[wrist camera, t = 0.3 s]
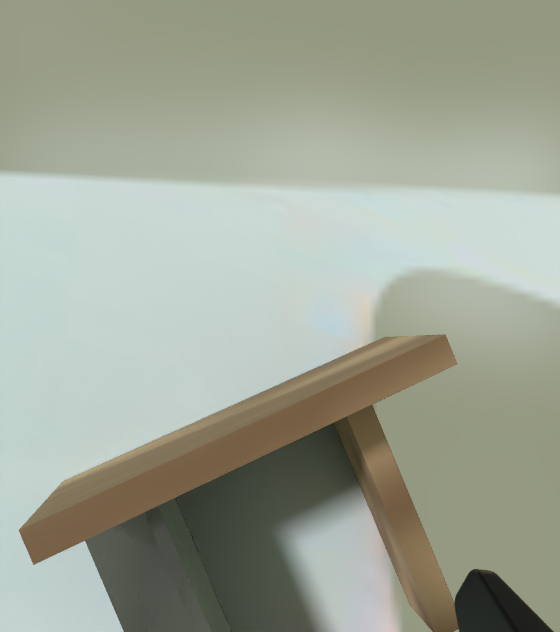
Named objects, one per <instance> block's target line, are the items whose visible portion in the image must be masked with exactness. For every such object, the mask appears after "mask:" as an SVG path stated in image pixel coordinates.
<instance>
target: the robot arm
mask: <svg viewBox="0 0 560 632" xmlns="http://www.w3.org/2000/svg"><path fill="white" fill-rule="evenodd" d="M455 613H456V618H457V623H458V628H459V632H553V631H552V630H551V629H550V628H549V627H548V626H547V625H546V624H545V623H544V622H543V620H541V618H540V617H539V616H538V615H537V614H535V613H534V611H533V610H532V609H531V608H530V607H529V606H528V605H527V604H526V603H525V602H524V601H523V600H522V599H521V598H520V597H519V596H518V595H517V594H516V593H515V592H514V591H513V590H512V589H511V588H510V587H509V586H508V585H507V584H506V583H505V582H504V581H503V580H502V579H501V578H500V577H499V576H498V575H497V574H496V573H494V572H492V571H488V570H479V569H474V570H472V571H470V572H469V574H468V575H467V577H466V579H465V581H464V582H463V584H462V586H461V587H460V589H459V591H458V593H457V595H456V598H455Z"/></svg>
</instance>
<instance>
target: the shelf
mask: <svg viewBox="0 0 560 632" xmlns="http://www.w3.org/2000/svg"><path fill="white" fill-rule="evenodd" d="M456 364H457V362H456V359H455V357H454V355H453V352H452V350H451V347H450V345H449V342H448V340H447V337H446V335H424V336H402V337H401V336H400V337H384V338H382V339H380V340H377V341H375V342H373V343H371V344H368V345H366V346H364V347H362V348H360V349H357V350H355V351H353V352H351V353H348V354H346V355H344V356H342V357H339V358H337V359H335V360H333V361H331V362H328V363H326V364H324V365H322V366H319V367H317V368H315V369H313V370H310V371H308V372H306V373H304V374H302V375H299V376H297V377H295V378H293V379H290V380H288V381H286V382H284V383H281V384H279V385H277V386H275V387H273V388H270V389H268V390H266V391H264V392H261V393H259V394H257V395H255V396H252V397H250V398H248V399H246V400H244V401H241V402H239V403H237V404H235V405H232V406H230V407H228V408H226V409H223V410H221V411H219V412H217V413H215V414H212V415H210V416H208V417H206V418H203V419H201V420H199V421H197V422H194V423H192V424H190V425H188V426H186V427H183V428H181V429H179V430H177V431H174V432H172V433H170V434H168V435H165V436H163V437H161V438H159V439H157V440H154V441H152V442H150V443H148V444H145V445H143V446H141V447H139V448H136V449H134V450H132V451H130V452H128V453H125V454H123V455H121V456H119V457H116V458H114V459H112V460H110V461H107V462H105V463H103V464H101V465H99V466H96V467H94V468H92V469H90V470H87V471H85V472H83V473H81V474H78V475H76V476H74V477H72V478H69V479H67V480H65V481H63V482H62V483H61V484H60V485H59V486H58V487H57V489H56V490H55V491H54V492H53V493H52V494H51V495H50V496H49V497H48V499H47V500H46V501H45V502H44V503H43V504H42V505H41V506H40V507H39V508H38V510H37V511H36V512H35V513H34V514H33V515H32V516H31V517H30V518H29V519H28V521H27V522H26V523H25V524H24V525H23V526H22V527H21V528H20V529H19V532H20V534H21V537H22V539H23V541H24V544H25V546H26V548H27V551H28V553H29V555H30V558H31V560H32V562H33V565H34V564H36V563H38V562H41V561H43V560H45V559H47V558H49V557H51V556H53V555H55V554H57V553H60V552H62V551H64V550H66V549H68V548H70V547H72V546H74V545H76V544H79V543H81V542H83V541H85V542H86V544H87V546H88V549H89V551H90V553H91V556H92V558H93V560H94V563H95V565H96V567H97V570H98V572H99V574H100V577H101V579H102V581H103V584H104V586H105V588H106V591H107V593H108V595H109V598H110V600H111V602H112V605H113V607H114V609H115V612H116V614H117V616H118V619H119V621H120V623H121V626H122V628H123V630H124V632H232V631H231V629H230V626H229V624H228V622H227V619H226V617H225V615H224V612H223V610H222V608H221V605H220V603H219V600H218V598H217V596H216V593H215V591H214V589H213V586H212V584H211V582H210V579H209V577H208V574H207V572H206V570H205V567H204V565H203V563H202V560H201V558H200V556H199V553H198V551H197V548H196V546H195V544H194V541H193V539H192V537H191V534H190V532H189V530H188V527H187V525H186V523H185V520H184V518H183V515H182V513H181V511H180V508H179V506H178V504H177V501H176V499H175V498H176V497H178V496H180V495H182V494H184V493H186V492H188V491H190V490H193V489H195V488H197V487H199V486H201V485H203V484H205V483H207V482H209V481H212V480H214V479H216V478H218V477H220V476H222V475H224V474H226V473H228V472H231V471H233V470H235V469H237V468H239V467H241V466H243V465H245V464H247V463H250V462H252V461H254V460H256V459H258V458H260V457H262V456H264V455H266V454H269V453H271V452H273V451H275V450H277V449H279V448H281V447H283V446H285V445H287V444H290V443H292V442H294V441H296V440H298V439H300V438H302V437H304V436H306V435H309V434H311V433H313V432H315V431H317V430H319V429H321V428H323V427H325V426H328V425H330V424H332V423H334V425H335V427H336V429H337V432H338V434H339V437H340V439H341V441H342V444H343V446H344V449H345V451H346V453H347V456H348V458H349V461H350V463H351V465H352V468H353V470H354V473H355V475H356V477H357V480H358V482H359V485H360V487H361V489H362V492H363V494H364V497H365V499H366V501H367V504H368V506H369V509H370V511H371V513H372V516H373V518H374V521H375V523H376V525H377V528H378V530H379V533H380V535H381V537H382V540H383V542H384V545H385V547H386V549H387V552H388V554H389V557H390V559H391V561H392V564H393V566H394V569H395V571H396V573H397V576H398V578H399V581H400V583H401V585H402V588H403V590H404V593H405V595H406V597H407V599H408V602H409V604H410V606H411V607H412V608H413V609H414V610H415V612H416V613H417V614H418V615H419V616H420V617H421V618H422V620H423V621H424V622H425V623H426V624H427V625H428V626H429V627H430V629H431V630H432V631H433V632H454V631H455V630H457V629H459V628H458V623H457V618H456V613H455V603H454V601H453V599H452V596H451V594H450V591H449V589H448V587H447V584H446V582H445V579H444V577H443V575H442V572H441V570H440V568H439V565H438V563H437V560H436V558H435V555H434V553H433V551H432V548H431V546H430V543H429V541H428V539H427V536H426V534H425V532H424V529H423V527H422V524H421V522H420V519H419V517H418V514H417V512H416V510H415V507H414V505H413V502H412V500H411V498H410V495H409V493H408V490H407V488H406V485H405V483H404V481H403V478H402V476H401V474H400V471H399V469H398V466H397V464H396V462H395V459H394V457H393V454H392V452H391V449H390V447H389V445H388V442H387V440H386V438H385V435H384V433H383V430H382V428H381V425H380V423H379V420H378V418H377V416H376V413H375V411H374V408H373V406H372V404H374V403H376V402H378V401H380V400H382V399H385V398H386V397H389V396H391V395H393V394H395V393H397V392H399V391H401V390H404V389H406V388H408V387H410V386H412V385H414V384H416V383H418V382H420V381H423V380H425V379H427V378H429V377H431V376H433V375H435V374H437V373H439V372H442V371H444V370H446V369H448V368H450V367H452V366H454V365H456Z"/></svg>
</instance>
